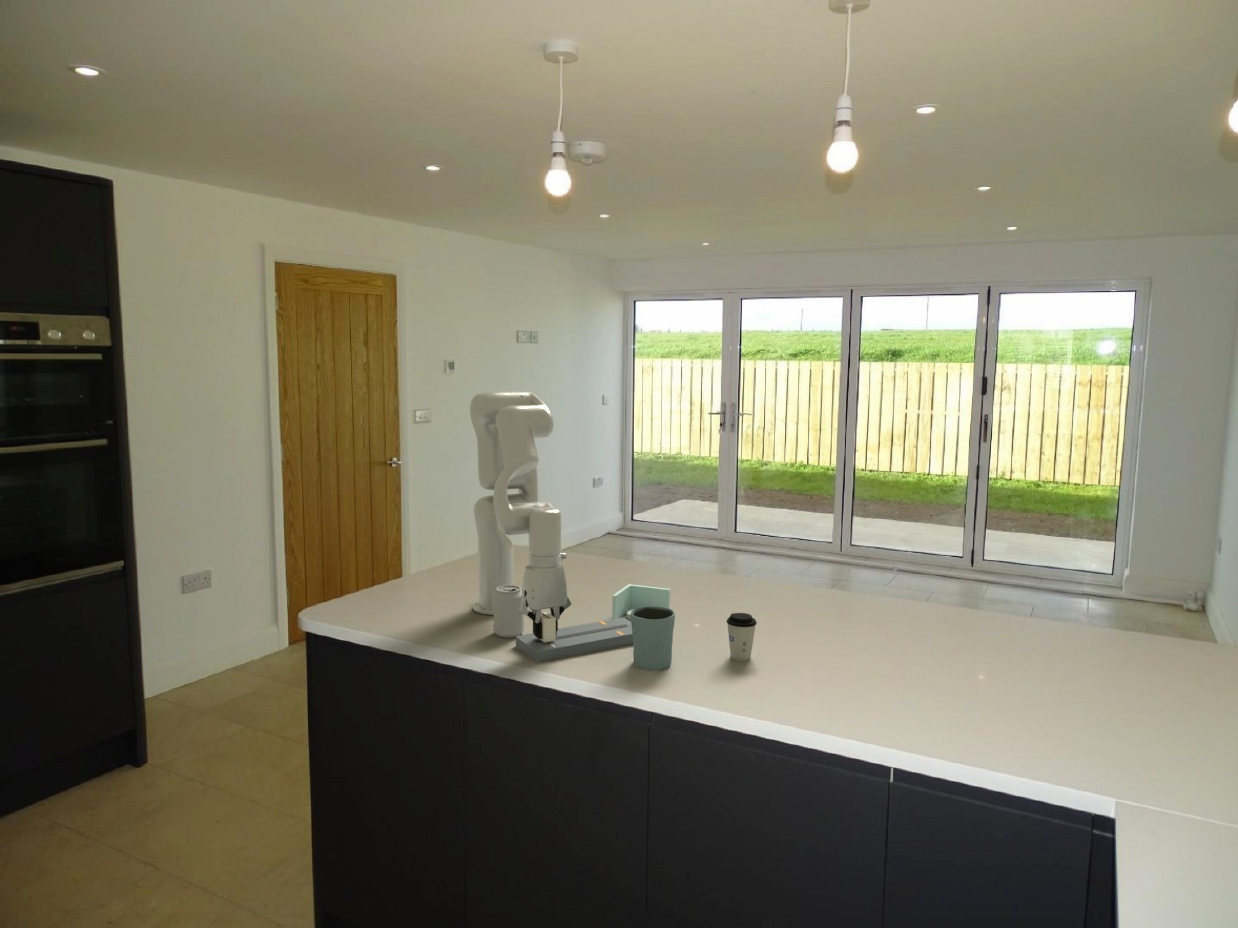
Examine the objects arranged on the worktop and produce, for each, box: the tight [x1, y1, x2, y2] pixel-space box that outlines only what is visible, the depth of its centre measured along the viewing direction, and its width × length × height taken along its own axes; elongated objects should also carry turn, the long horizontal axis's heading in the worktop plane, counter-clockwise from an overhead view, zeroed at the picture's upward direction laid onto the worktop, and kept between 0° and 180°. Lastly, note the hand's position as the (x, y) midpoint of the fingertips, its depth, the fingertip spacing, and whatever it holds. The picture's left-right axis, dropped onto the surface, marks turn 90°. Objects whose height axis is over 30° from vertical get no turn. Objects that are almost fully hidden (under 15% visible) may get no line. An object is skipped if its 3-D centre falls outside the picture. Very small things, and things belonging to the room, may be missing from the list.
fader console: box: [515, 616, 633, 663], centre depth 200 cm, size 12×30×3 cm, turn 120°
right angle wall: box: [611, 583, 671, 621], centre depth 220 cm, size 12×12×8 cm
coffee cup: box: [726, 612, 758, 662], centre depth 191 cm, size 7×7×10 cm
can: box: [493, 584, 525, 639], centre depth 206 cm, size 8×8×12 cm
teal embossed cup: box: [630, 606, 676, 671], centre depth 187 cm, size 10×10×12 cm
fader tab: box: [540, 611, 556, 642], centre depth 194 cm, size 5×3×6 cm, turn 30°
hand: (545, 635), depth 195 cm, fingers closed on fader tab, 3 cm apart
